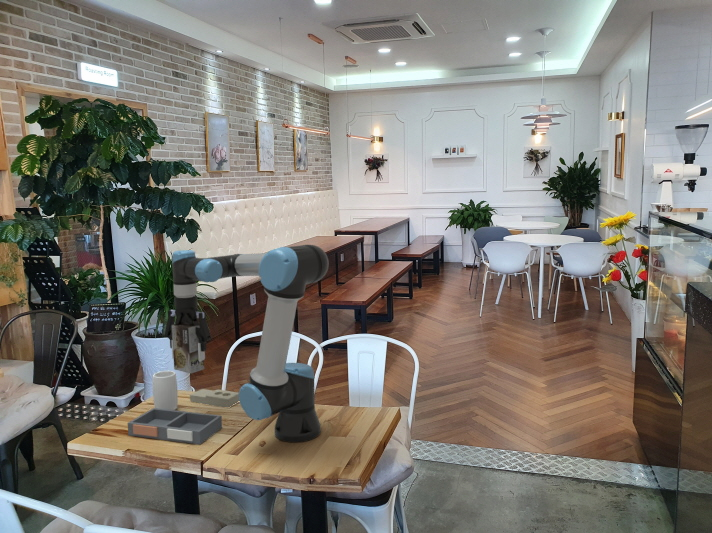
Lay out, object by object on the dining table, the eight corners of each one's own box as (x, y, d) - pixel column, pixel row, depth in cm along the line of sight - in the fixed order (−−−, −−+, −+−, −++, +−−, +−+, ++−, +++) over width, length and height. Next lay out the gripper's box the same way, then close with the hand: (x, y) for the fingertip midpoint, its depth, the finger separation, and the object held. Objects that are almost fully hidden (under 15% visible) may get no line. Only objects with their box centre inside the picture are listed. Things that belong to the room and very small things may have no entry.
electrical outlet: (201, 386, 221) (239, 392, 214) (202, 396, 222) (240, 402, 215) (189, 392, 215) (228, 398, 208) (190, 402, 215) (229, 409, 208)
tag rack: (222, 427, 191) (221, 415, 190) (199, 445, 177) (198, 432, 177) (154, 419, 198) (153, 408, 198) (127, 436, 185) (126, 423, 185)
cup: (161, 406, 211) (159, 370, 209) (182, 407, 210) (180, 370, 208) (149, 415, 202) (147, 377, 201) (172, 416, 201) (169, 378, 199)
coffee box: (205, 369, 196) (203, 323, 193) (190, 374, 190) (188, 327, 188) (188, 364, 201) (186, 320, 199) (173, 369, 195) (170, 324, 193)
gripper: (220, 295, 192) (222, 358, 195) (165, 292, 199) (168, 353, 202) (207, 299, 185) (210, 365, 188) (150, 295, 192) (154, 359, 195)
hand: (188, 358), depth 195 cm, fingers closed on coffee box, 10 cm apart
